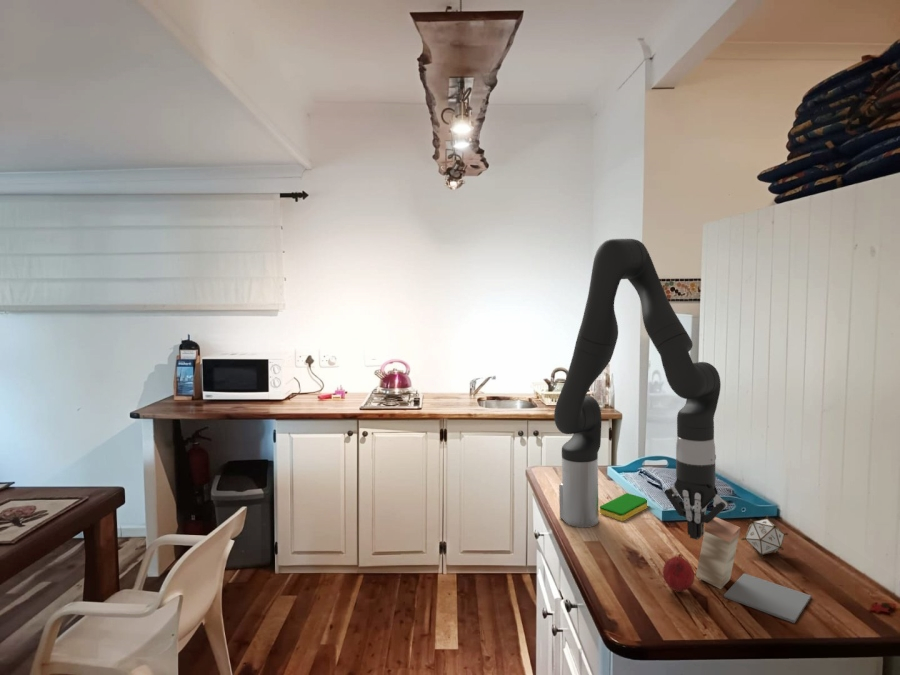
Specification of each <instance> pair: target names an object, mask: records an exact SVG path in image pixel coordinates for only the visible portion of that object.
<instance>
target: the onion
mask: <svg viewBox="0 0 900 675" xmlns="http://www.w3.org/2000/svg"><path fill="white" fill-rule="evenodd" d="M662 575H663V578H664V582H665V583H666V584H667V585H668V587H670V589H672V590H673V591H676V592H677V593H682V592H684V591H687V590H688V589H689V588H691V587H692V586H693V584H694V581H695V572H694V568H693V567H692V566H691V563H689V562H688V560H687V559H685V558H683V554H682V553H681V552H676V554H675V555H674V557H671V558H669V559H668V560H666V562H665V563H664V566H663V569H662Z"/></svg>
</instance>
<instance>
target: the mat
mask: <svg viewBox="0 0 900 675" xmlns="http://www.w3.org/2000/svg"><path fill="white" fill-rule="evenodd" d="M723 598H725V599H728V600H731V601H733V602H736V603H739V604H741V605H745V606H747V607H749V608H752V609H755V610H757V611H760V612H762V613H765V614H768V615H771V616H773V617H776V618H779V619H781V620H784V621H786V622H789V623H792V624H795V623H796V622H797V620H798V619H799V617H800V616H801V614H802V613H803V611H804V610H805V608H806V606H807V605H808V603H809V601H810V600H811V599H812V595H811V594H807V593H804V592H802V591H798V590H796V589H792V588H789V587H786V586H784V585H781V584H778V583H776V582H775V583H774V582H772V581H769V580H765V579H763V578H759V577H757V576H755V575H750V574H748V573H745V572H744V573H742V575H740V577H739V578H738V579H737V580H736V581H735V582H734V583H733V584H732V585H731V587H730V588H729V589H728V590H727V591H726V592H725V593H724V594H723Z"/></svg>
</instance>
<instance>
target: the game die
mask: <svg viewBox="0 0 900 675" xmlns="http://www.w3.org/2000/svg"><path fill="white" fill-rule="evenodd" d="M749 521H750V522H751V523H750V524H749V523H746V527H748V528H747V531H746V534H745V537H741V539H740V540H742V541H746V542H747V543H748V544H750V546H752V548H754V549H755V550H756V551H757V553H758V554H760V556H759V557H760V559H763V558H764V555H768V554H771V553H776V554H777V555H779V554H780V552H779V550H781V551H785V548H784V547H782V545H783V541H784V539H785V536H788V535H789V533H788V532H785V533H784V531H782V530H781V529H779V528H778V525H777V524H774V523H773V522H772V521H771V520H770V519H769V515H766V516H765V518H764V519H759V520H754V519H751V518H750V519H749Z"/></svg>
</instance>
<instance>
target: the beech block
mask: <svg viewBox="0 0 900 675" xmlns="http://www.w3.org/2000/svg"><path fill="white" fill-rule="evenodd" d="M740 532H741V527H740V526H738V525H736V524H733V523H732V522H728V521H727V520H724V519H721V518H719V517H717V516H716V517H715V518H714V519H712V520H711V521H710V522H709V523H705V524H704V534H703V536H702V537H703V538H702V542H701V548H700V552H699V553H700V554H699V558H698V563H697V569H696V574H695V577H696V578H698V579H700V580H701V581H704V582H705V583H707V584H710V585H711V586H713V587H715V588H718V589H719V590H722V588H724V587H725V586H726V584H727V583H728V582H729V581H730V580H731V577H732V571H733V566H734V562H735V557H736V551H737V548H738V542H739V537H740Z"/></svg>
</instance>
